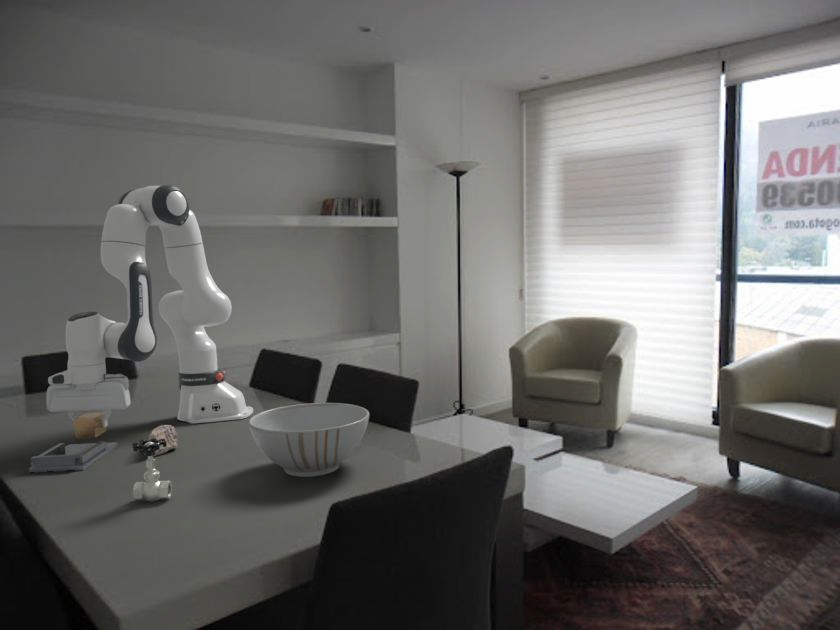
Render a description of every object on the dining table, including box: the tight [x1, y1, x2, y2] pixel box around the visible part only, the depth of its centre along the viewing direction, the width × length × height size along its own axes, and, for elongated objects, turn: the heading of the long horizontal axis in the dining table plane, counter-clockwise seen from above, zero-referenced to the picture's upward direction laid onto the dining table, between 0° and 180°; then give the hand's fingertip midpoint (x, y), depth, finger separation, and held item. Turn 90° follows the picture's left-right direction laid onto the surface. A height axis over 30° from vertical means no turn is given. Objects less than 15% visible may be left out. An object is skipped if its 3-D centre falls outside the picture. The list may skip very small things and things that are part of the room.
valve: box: [131, 438, 173, 502], centre depth 134 cm, size 7×7×12 cm
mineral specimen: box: [148, 424, 179, 458], centre depth 170 cm, size 13×7×6 cm, turn 17°
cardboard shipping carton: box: [73, 412, 107, 439], centre depth 175 cm, size 5×7×5 cm
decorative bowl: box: [248, 402, 370, 478], centre depth 151 cm, size 27×27×12 cm
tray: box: [28, 440, 119, 474], centre depth 166 cm, size 12×20×4 cm, turn 3°
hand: (90, 427), depth 175 cm, fingers closed on cardboard shipping carton, 5 cm apart
